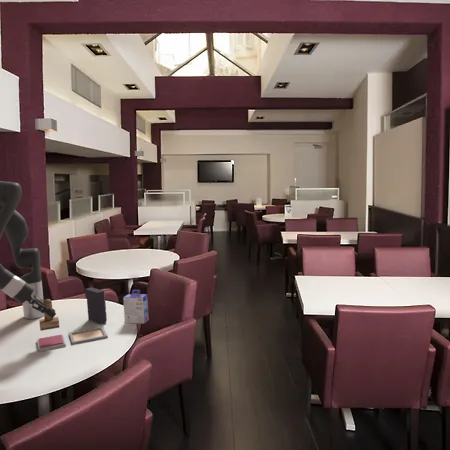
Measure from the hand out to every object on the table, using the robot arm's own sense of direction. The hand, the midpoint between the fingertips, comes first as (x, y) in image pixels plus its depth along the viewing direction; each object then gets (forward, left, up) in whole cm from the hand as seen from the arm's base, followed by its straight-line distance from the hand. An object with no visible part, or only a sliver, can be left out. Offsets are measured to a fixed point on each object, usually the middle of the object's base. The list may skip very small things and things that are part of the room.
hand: (54, 314), depth 174 cm
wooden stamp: (0, -2, -5) cm, 5 cm away
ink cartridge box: (-8, +35, -12) cm, 38 cm away
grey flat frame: (-1, +12, -12) cm, 17 cm away
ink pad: (0, -2, -12) cm, 12 cm away
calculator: (-18, +19, -12) cm, 29 cm away
